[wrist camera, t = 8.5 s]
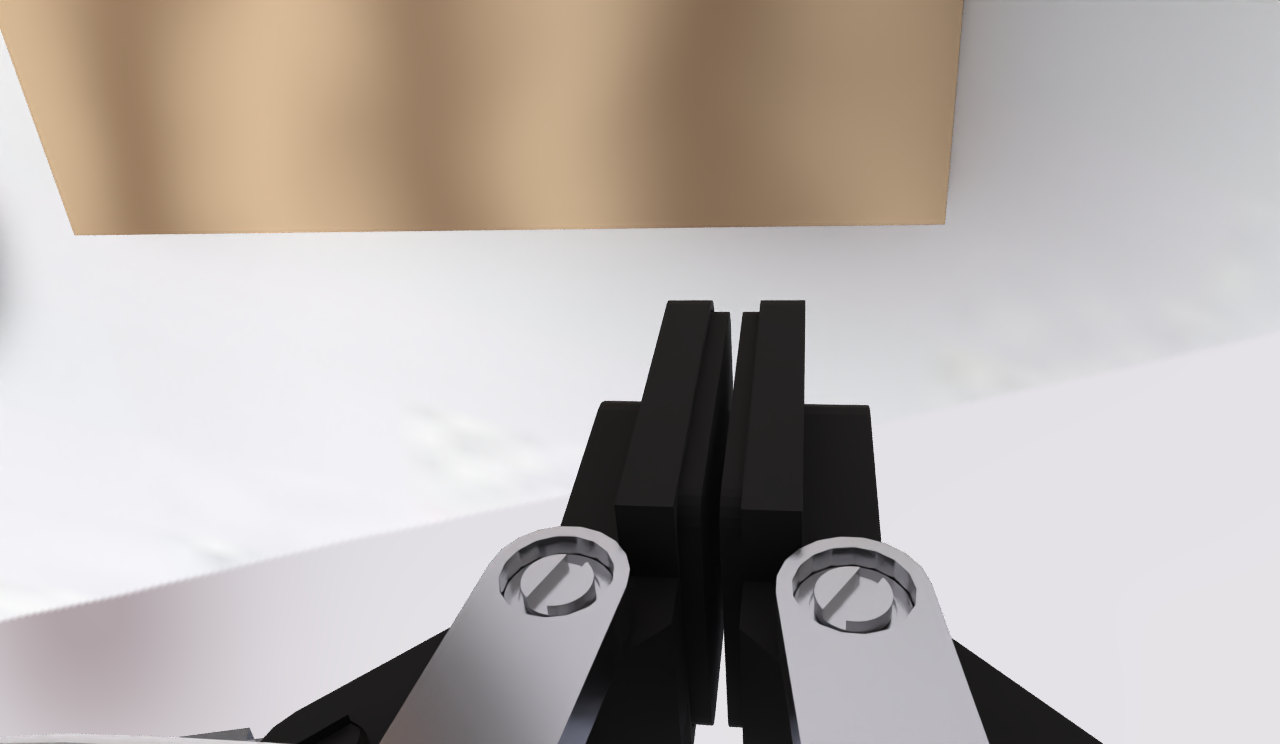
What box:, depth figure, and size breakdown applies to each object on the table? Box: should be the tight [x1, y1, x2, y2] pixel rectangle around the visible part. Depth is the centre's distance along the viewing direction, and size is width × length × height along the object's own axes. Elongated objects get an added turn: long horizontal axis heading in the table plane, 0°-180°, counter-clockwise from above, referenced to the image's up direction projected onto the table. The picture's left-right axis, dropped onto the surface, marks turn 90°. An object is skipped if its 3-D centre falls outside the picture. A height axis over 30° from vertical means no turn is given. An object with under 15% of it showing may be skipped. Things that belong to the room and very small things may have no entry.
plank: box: [0, 0, 964, 235], centre depth 23 cm, size 22×8×1 cm, turn 94°
